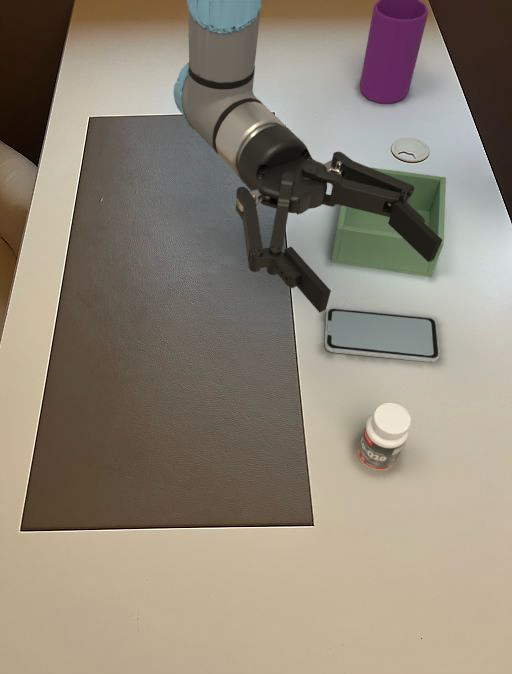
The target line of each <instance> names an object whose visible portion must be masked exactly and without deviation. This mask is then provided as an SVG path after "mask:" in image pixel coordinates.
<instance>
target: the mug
mask: <svg viewBox="0 0 512 674" xmlns="http://www.w3.org/2000/svg"><path fill="white" fill-rule="evenodd" d="M428 16H429V10H428V6H427V4H426V3H424V2H423V1H421V0H377V2H375V3H374V5H373V8H372V14H371V20H370V25H369V30H368V36H367V42H366V48H365V54H364V58H363V64H362V70H361V76H360V82H359V87H360V93H361V94H362V95H363V96H364V97H365V98H367V100H369V101H373V102H375V103H378V104H395V103H397V102H400V101H402V100H404V99H405V97H406V96H407V95H408V94H409V91H410V88H411V84H412V80H413V76H414V72H415V68H416V64H417V60H418V55H419V51H420V48H421V44H422V40H423V36H424V32H425V28H426V24H427V21H428Z"/></svg>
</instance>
